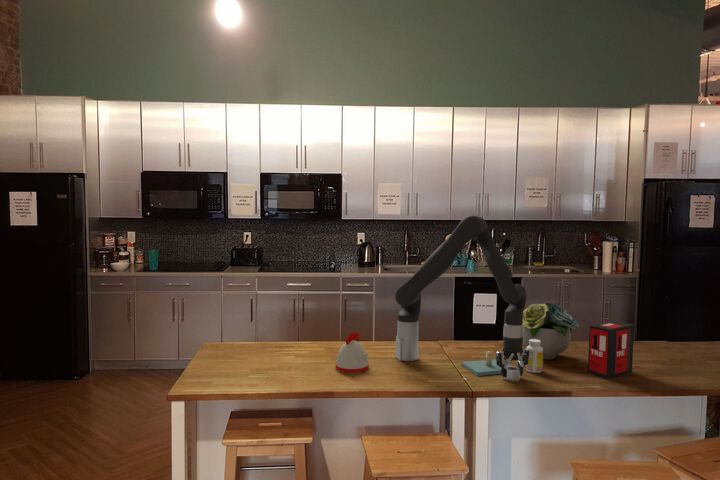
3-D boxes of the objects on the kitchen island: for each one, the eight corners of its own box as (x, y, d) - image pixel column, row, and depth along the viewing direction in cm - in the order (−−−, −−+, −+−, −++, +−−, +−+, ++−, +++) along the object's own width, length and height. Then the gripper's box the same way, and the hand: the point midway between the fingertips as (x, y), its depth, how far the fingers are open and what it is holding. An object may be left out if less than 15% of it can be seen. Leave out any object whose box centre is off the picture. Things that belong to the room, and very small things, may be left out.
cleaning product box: (611, 366, 228) (613, 320, 227) (631, 372, 221) (634, 324, 219) (587, 373, 220) (589, 325, 218) (607, 379, 212) (609, 329, 211)
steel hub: (509, 381, 209) (509, 371, 209) (501, 376, 215) (501, 366, 215) (522, 380, 211) (523, 370, 210) (514, 375, 216) (514, 365, 216)
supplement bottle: (542, 369, 224) (543, 339, 223) (542, 374, 218) (543, 343, 217) (525, 367, 226) (526, 337, 225) (525, 372, 220) (526, 341, 219)
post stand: (477, 375, 215) (477, 357, 215) (461, 365, 229) (462, 348, 228) (516, 372, 220) (517, 354, 219) (499, 362, 234) (499, 345, 233)
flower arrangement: (548, 347, 258) (549, 296, 256) (586, 362, 235) (589, 307, 233) (504, 352, 249) (506, 300, 247) (540, 368, 226) (542, 311, 224)
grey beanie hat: (375, 367, 225) (375, 332, 224) (352, 375, 215) (352, 338, 214) (351, 360, 235) (351, 326, 234) (328, 367, 225) (328, 332, 224)
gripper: (523, 331, 217) (522, 371, 218) (491, 333, 213) (490, 374, 214) (534, 336, 210) (533, 377, 211) (501, 338, 206) (500, 381, 207)
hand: (511, 376), depth 213 cm, fingers open, 6 cm apart
